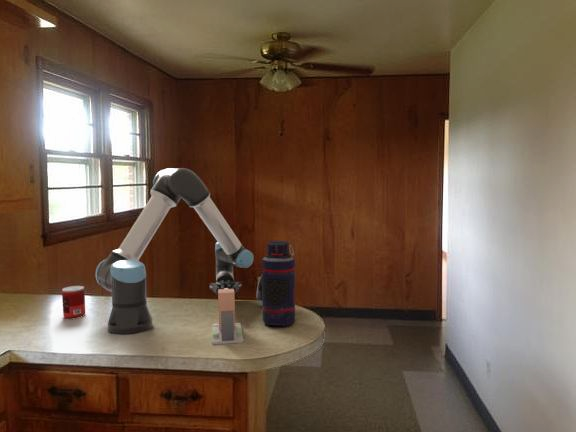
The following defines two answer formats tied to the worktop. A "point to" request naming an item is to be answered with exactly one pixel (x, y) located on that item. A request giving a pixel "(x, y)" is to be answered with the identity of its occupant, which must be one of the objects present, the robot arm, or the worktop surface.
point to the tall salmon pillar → (226, 304)
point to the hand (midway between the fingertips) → (226, 295)
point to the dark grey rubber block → (227, 326)
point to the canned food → (73, 302)
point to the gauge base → (217, 340)
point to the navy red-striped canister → (278, 285)
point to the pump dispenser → (259, 291)
